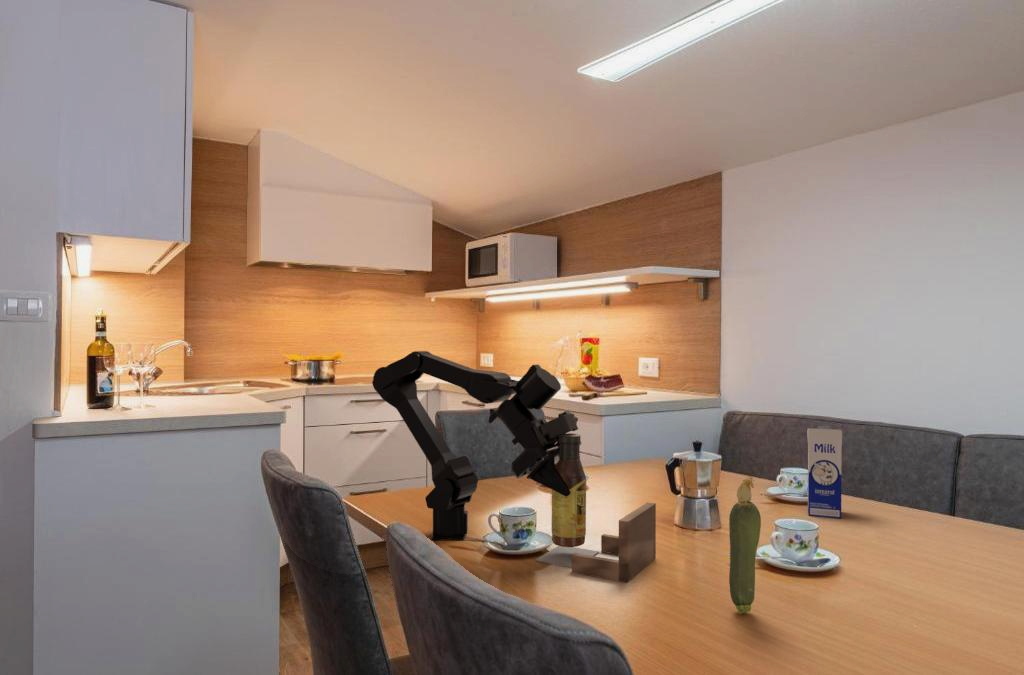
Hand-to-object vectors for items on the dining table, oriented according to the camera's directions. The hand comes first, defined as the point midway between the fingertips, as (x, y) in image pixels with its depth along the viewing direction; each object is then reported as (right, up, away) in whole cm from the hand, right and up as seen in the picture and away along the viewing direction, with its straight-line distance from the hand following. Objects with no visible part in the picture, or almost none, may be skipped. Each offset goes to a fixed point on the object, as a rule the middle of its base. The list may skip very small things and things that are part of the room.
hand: (576, 491), depth 126 cm
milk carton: (+60, -12, +33) cm, 69 cm away
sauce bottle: (-1, -10, +1) cm, 10 cm away
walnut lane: (+7, -12, -4) cm, 14 cm away
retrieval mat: (-1, -12, +1) cm, 12 cm away
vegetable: (+22, -12, -24) cm, 35 cm away
